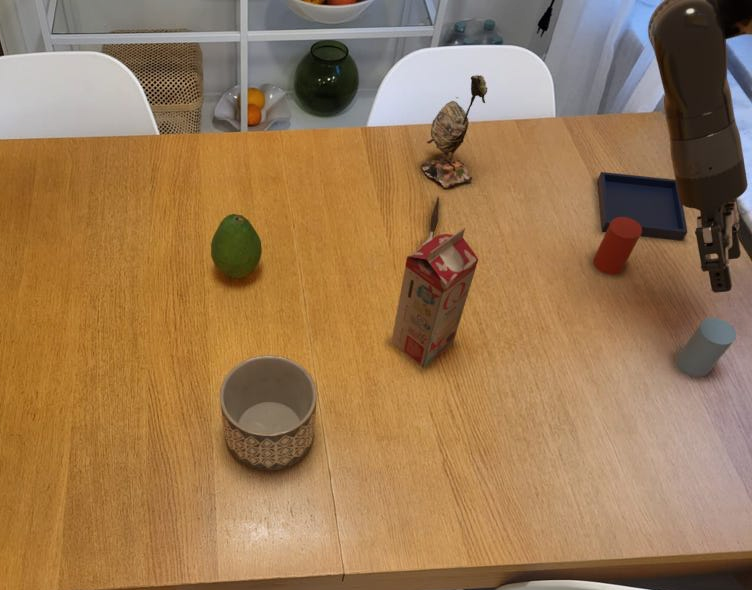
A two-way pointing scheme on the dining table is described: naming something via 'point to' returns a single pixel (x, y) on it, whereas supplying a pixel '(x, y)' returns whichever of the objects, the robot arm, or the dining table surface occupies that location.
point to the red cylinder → (617, 245)
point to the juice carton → (433, 297)
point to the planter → (268, 411)
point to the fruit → (236, 247)
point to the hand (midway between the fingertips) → (727, 273)
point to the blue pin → (705, 347)
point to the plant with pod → (452, 138)
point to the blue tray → (642, 204)
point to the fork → (433, 221)
